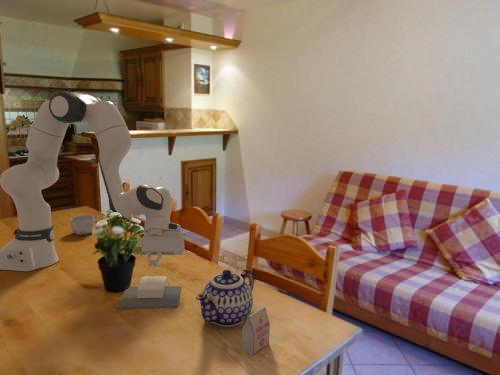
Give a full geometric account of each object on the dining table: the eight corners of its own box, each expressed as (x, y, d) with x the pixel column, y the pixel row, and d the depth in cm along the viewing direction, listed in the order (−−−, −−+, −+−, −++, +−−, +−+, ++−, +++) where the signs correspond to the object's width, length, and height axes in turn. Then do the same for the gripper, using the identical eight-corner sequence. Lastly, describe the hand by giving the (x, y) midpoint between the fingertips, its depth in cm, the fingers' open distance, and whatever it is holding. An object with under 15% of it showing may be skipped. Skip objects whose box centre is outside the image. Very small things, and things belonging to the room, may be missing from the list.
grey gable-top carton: (241, 350, 100) (242, 313, 98) (258, 339, 105) (259, 304, 103) (252, 356, 98) (253, 319, 96) (269, 344, 103) (270, 309, 101)
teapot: (235, 296, 130) (236, 253, 127) (272, 311, 121) (274, 265, 118) (176, 325, 111) (176, 276, 108) (215, 346, 101) (216, 292, 99)
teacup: (89, 236, 185) (88, 220, 183) (66, 236, 185) (65, 219, 183) (100, 228, 199) (100, 213, 197) (79, 227, 199) (78, 212, 197)
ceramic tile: (142, 285, 134) (137, 298, 124) (142, 276, 134) (136, 289, 124) (166, 284, 135) (162, 298, 125) (166, 276, 134) (162, 289, 125)
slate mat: (117, 308, 119) (116, 307, 119) (127, 288, 133) (127, 286, 133) (177, 307, 121) (177, 306, 120) (181, 287, 134) (181, 286, 134)
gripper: (125, 224, 137) (119, 262, 129) (185, 225, 138) (182, 262, 131) (128, 233, 142) (123, 269, 134) (186, 233, 144) (183, 269, 136)
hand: (153, 266), depth 132 cm, fingers closed
